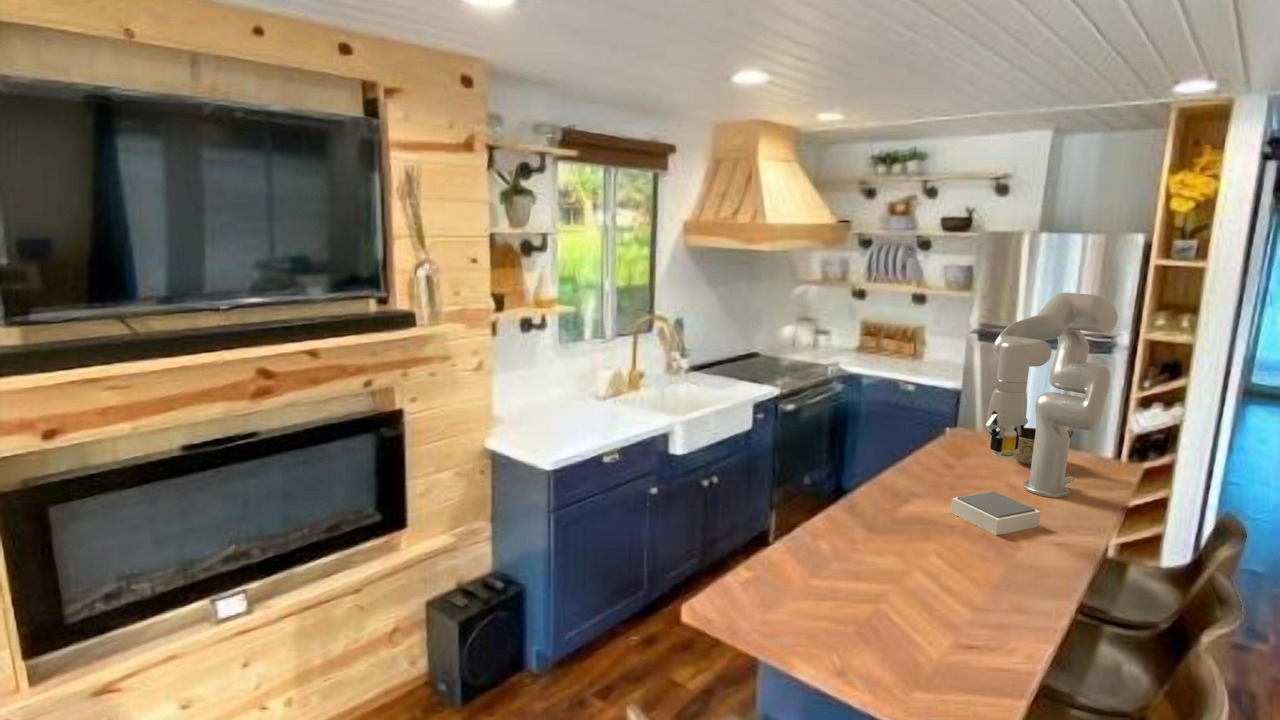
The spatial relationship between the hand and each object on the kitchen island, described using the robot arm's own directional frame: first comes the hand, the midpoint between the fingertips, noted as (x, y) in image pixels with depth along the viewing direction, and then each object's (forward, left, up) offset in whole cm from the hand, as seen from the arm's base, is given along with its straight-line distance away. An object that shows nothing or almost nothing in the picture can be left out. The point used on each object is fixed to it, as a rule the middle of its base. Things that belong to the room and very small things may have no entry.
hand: (1003, 448), depth 199 cm
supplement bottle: (0, 0, -2) cm, 2 cm away
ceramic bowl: (-52, -31, -21) cm, 64 cm away
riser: (0, 0, -21) cm, 21 cm away
